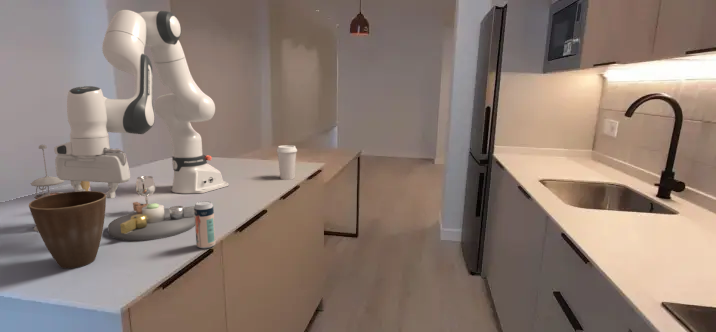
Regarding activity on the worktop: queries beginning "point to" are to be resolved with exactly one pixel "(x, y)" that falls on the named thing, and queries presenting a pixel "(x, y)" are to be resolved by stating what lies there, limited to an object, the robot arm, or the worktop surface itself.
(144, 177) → the wineglass
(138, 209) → the knob copper
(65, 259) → the plant pot
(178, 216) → the knob steel
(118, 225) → the tribrach
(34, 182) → the vented spool lamp
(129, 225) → the knob brass
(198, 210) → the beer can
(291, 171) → the coffee cup
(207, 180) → the robot arm
